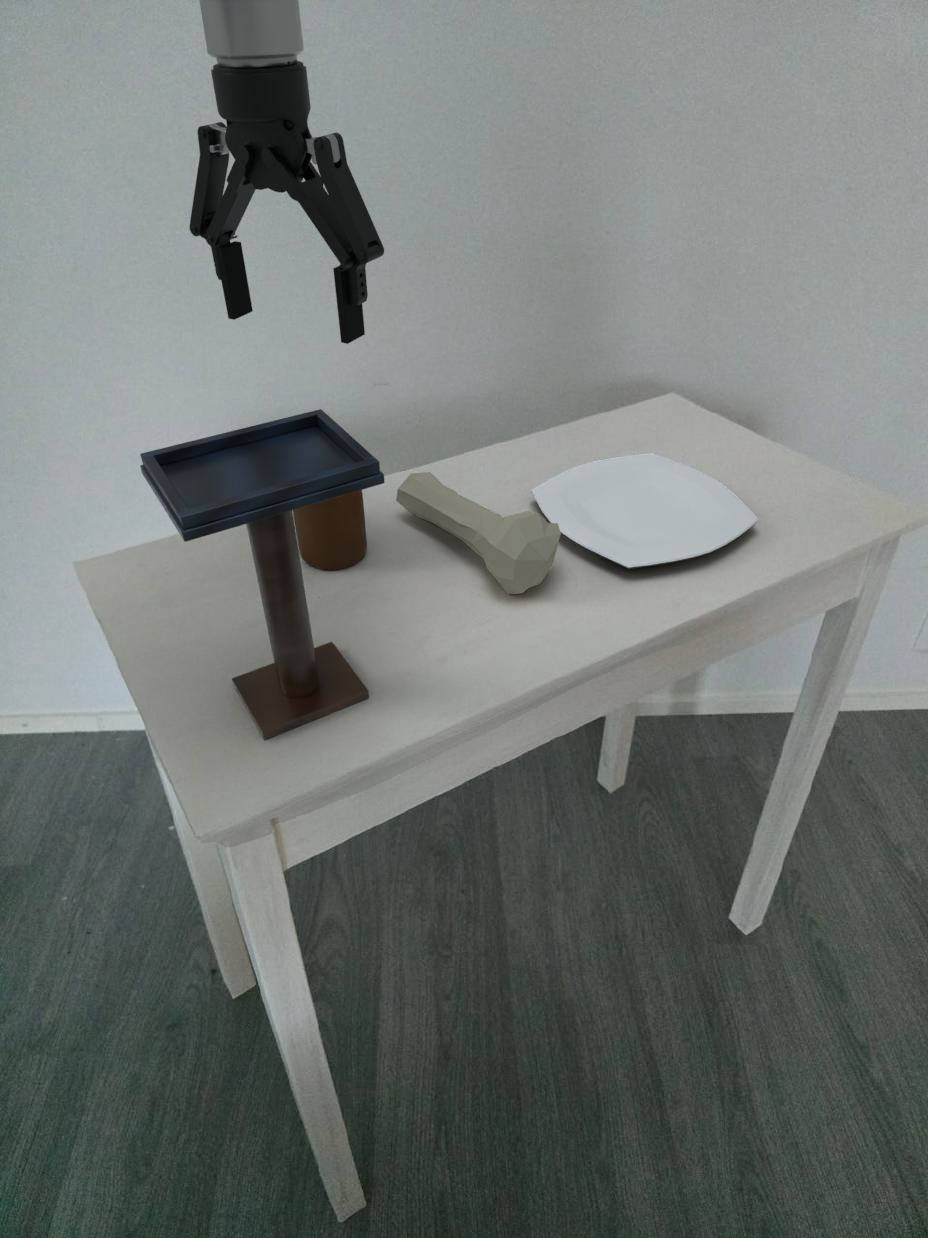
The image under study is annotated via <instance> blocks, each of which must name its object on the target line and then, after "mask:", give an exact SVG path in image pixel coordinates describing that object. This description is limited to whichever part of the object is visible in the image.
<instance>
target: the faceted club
mask: <svg viewBox="0 0 928 1238" xmlns="http://www.w3.org/2000/svg"><path fill="white" fill-rule="evenodd" d="M396 502H397V503H398V504H399V505H401V506H402V508H403V509H405V510H407V511H408V512H410V513H411V514H412V515H414V516H415V517H417V518H420V519H422V520H425V521H426V522H429V523H430V524H431V523H432V524H434V525H436V526H437V527H439V528H440V529H442V530H444V531H446V532H448V533H449V534H451V535H452V536H454V537H456V538H458V539H459V540H460V541H462V542H463V543H464V544H465V545H466V546H468V547H469V548H470V549H471V550H473V552H475V553H476V554H477V555H478V556H479V557H481V559H483V560H484V562H485V565H486V568H487V570H488V572H489V573H490V574H491V575H492V576H493V578H495V580H496V581H497V582H498V584H499V586H500V587H501V588H502V589H503V590H504V592H505V593H506V594H507V595H517V594H523V593H524V592H526V591H527V590H528V589H530V588H532V587H535V586H537V585H540V584H541V583H542V581H543V580H544V579H545V577H546V576H547V574H548V573H549V572H550V570H551V569H552V567H553V564H554V561H555V558H556V554H557V549H558V546H559V542H560V539H561V535H562V533H561V531H560V529H559V526H558V523H550V522H549V521H547V520H546V519H545V518H544V517H543V516H542V515H541V513H539V512H535V511H523V512H518V513H514V514H510V515H505V516H502V515H500V514H498V513H496V512H494V511H492V510H491V509H488V508H486V507H485V506H483V505H481V504H479V503H476V502H475V501H473V500H471V499H469V498H467V497H465V496H463V495H461V494H459V493H458V492H457V491H456V490H454V489H451V488H450V487H448V486H445V485H444V484H443V483H442V482H441V481H440V480H439V479H438V477H436V476H435V475H434V474H433V473H432V472H431V471H426V472H425V471H424V472H414V473H410V474H409V475H408V476H407V477H406V479H404V481H403V482H402V483H401V484H400V486H399V487H398V488H397V490H396Z"/></svg>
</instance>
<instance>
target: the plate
mask: <svg viewBox="0 0 928 1238" xmlns="http://www.w3.org/2000/svg"><path fill="white" fill-rule="evenodd" d="M530 493H531V494H532V496H533V498H534V500H535V502H536V504H537V505H538V507H539V509H540V510H541V512H542V514H543V515H544V516H545V517H546V519H547V520H548V523H558V526H559V529H560V531H561V535H563V536H564V537H566V538H567V539H569V541H571V542H573V543H575V544H577V545H578V546H579V547H582V548H584V549H585V550H587V551H588V552H590V553H593V554H594V555H597V556H599V557H602V559H603V558H604V559H605V560H608V561H610V562H612V563H614V564H617V565H619V566H621V567H623V568H626V569H628V570H630V569H638V568H647V567H653V566H654V567H655V566H659V565H666V564H672V563H676V562H677V563H678V562H683V561H686V560H692V559H695V558H698V557H702V556H706V555H709V554H711V553H713V552H715V551H717V550H719V549H722V548H724V547H726V546H727V545H729V544H731V542H733V541H735V540H736V539H738V538H739V537H740V536H742V535H743V534H745V533H746V532H747V531H749V530H750V529H751V528H752V527H754V526H755V524H757V523H758V522H759V521H760V519H759V517H757V515H755V513H754V512H753V511H752V510H751V509H750V508H749V507H748V506H747V504H746V503H744V501H743V500H741V499H740V497H739V496H738V495H737V494H735V493H734V492H733V491H732V490H730V489H729V488H728V487H727V486H725V484H723V483H721V482H720V481H718V480H717V479H716V478H714V477H712V476H710V475H708V474H706V473H705V472H702V471H701V470H698V469H696V468H693V467H691V466H689V465H686V464H684V463H681V462H678V461H676V460H673V459H671V458H667V457H666V456H662V455H659V454H656V453H654V452H649V453H648V452H647V453H640V454H629V455H622V456H616V457H610V458H604V459H598V460H594V461H589V462H585V463H582V464H579V465H577V466H574V467H571V468H569V469H567V470H565V471H563V472H561V473H558V474H557V475H554V476H552V477H551V478H549V479H548V480H545V481H543V482H542V483H540V484H539V485H537V486H535V487H533V488H532V489H531V490H530Z"/></svg>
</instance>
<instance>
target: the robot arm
mask: <svg viewBox="0 0 928 1238" xmlns="http://www.w3.org/2000/svg"><path fill="white" fill-rule="evenodd" d="M199 7H200V12H201V17H202V18H201V19H202V25H203V32H204V39H205V45H206V51H207V54H208V55H209V56H210V57H212V58H215V59H216V63H215V64H214V65H213V66H212V69H211V70H210V72H211V79H212V85H213V91H214V95H215V102H216V108H217V113H218V114H219V116H220V117H221V118H222V119H223V120H224V121H225V122H226V124H225V123H224V122H222V121H217V122H214V123H209V124H204V125H200V126H198V128H197V140H198V141H197V142H198V148H199V159H198V166H197V173H196V180H195V186H194V193H193V199H192V206H191V213H190V221H189V231H190V234H191V235H192V236H193V237H201V238H202V239H204V240H205V241H206V243H207V245H209V246H210V249H211V255H212V260H213V264H214V270H215V275H216V277H217V279H218V281H220V282H221V287H222V292H223V296H224V302H225V308H226V314H227V318H228V319H229V320H233V321H235V320H237V319H239V318H241V317H244V316H246V315H249V314H250V313H252V312H254V311H253V305H252V304H253V303H252V299H251V294H250V286H249V281H248V275H247V269H246V264H245V258H244V252H243V246H242V241H237V240H235V241H232V240H234V239H237V238H238V237H239V236H238V235H236V232H237V230H238V228H239V226H240V223H241V221H242V219H243V218H244V215H245V214H246V211H247V209H248V206H249V205H250V203H251V201H252V199H253V196H254V194H255V192H256V190H258V191H262V190H266V189H269V190H270V191H273V192H275V193H281V194H282V193H287V195H288V196H289V197H290V198H291V200H293V201H296V202H297V203H298V204H299V205H300V206H301V208H302V210H303V211H304V212H305V214H306V216H307V217H308V219H309V220H310V221H311V223H312V224H313V226H314V227H315V229H316V230H317V231H318V233H319V235H320V236H321V237H322V239H323V240H324V242H325V243H326V245H327V247H328V248H329V249H330V251H331V252H332V253H333V255H334V257H335V258H336V259H337V261H338V262H339V265H337V266H335V267H333V279H334V288H335V297H336V307H337V317H338V325H339V334H340V343H342V344H347V345H349V344H350V343H352V342H354V341H356V340H358V339H359V338H361V337H363V336H364V335H366V331H365V320H364V308H363V304H364V303H366V302H367V300H368V296H369V295H368V294H369V293H368V285H367V283H368V282H367V270H366V266H367V264H368V263H370V262H372V261H375V260H376V259H379V258H381V257H383V256H384V255H385V247H384V245H383V243H382V240H381V238H380V235H379V232H378V231H377V229H376V226H375V224H374V222H373V219H372V217H371V215H370V213H369V210H368V207H367V206H366V203H365V201H364V199H363V196H362V194H361V192H360V189H359V187H358V185H357V183H356V181H355V178H354V175H353V173H352V171H351V169H350V166H349V165H348V160H347V155H346V149H345V142H344V137H343V136H342V134H340V132H333V133H328V134H324V135H321V136H313V135H312V134H311V131H310V128H309V125H308V121H309V115H310V112H311V98H310V89H309V79H308V72H307V71H308V70H307V66H306V65H304V63H303V61H300V60H298V56H299V55H300V54H302V53H303V52H304V51H305V48H304V47H305V46H304V39H303V38H304V37H303V30H302V29H303V28H302V21H301V11H300V1H299V0H199ZM230 154H231V156H232V157H233V159H234V161H233V164H232V166H231V169H230V170H229V172H228V167H229V163H230ZM314 165H316V167H317V169H316V167H315V166H314ZM227 173H228V175H227ZM303 180H304V181H303ZM226 182H227V185H226ZM225 185H226V188H225Z"/></svg>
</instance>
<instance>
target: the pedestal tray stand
mask: <svg viewBox="0 0 928 1238" xmlns="http://www.w3.org/2000/svg"><path fill="white" fill-rule="evenodd" d="M140 459H141V463H142V464H141V465H140V471H141V474H142V476H143V477H144V479H145V481H146V482H147V484H148V485H149V487H150V489H151V490H152V492H153V494H154V495H155V497H156V498H157V500H158V501H159V503H160V505H161V506H162V508H163V509H164V512H165V513H166V515H167V517H168V518H169V519H170V521H171V522H172V524H173V526H174V527H175V529H176V530H177V532H178V533H179V535H180V537H181V538H182V540H183V541H184V542H186V543H187V542H190V541H193V540H196V539H199V538H203V537H207V536H209V535H213V534H217V533H220V532H223V531H227V530H230V529H235V528H237V527H240V526H241V527H242V526H243V525H246V529H247V534H248V539H249V544H250V545H249V546H250V549H251V554H252V559H253V565H254V570H255V574H256V579H257V584H258V588H259V595H260V597H261V603H262V609H263V614H264V619H265V624H266V628H267V633H268V634H267V635H268V639H269V645H270V648H271V653H272V658H273V662H272V663H270V664H267V665H265V666H262V667H258V668H256V669H254V670H251V671H248V672H246V673H243V674H240V675H238V676H234V677H232V678H231V681H232V685H233V688H234V690H235V692H236V693H237V695H238V696H239V699H240V700H241V702H242V704H243V705H244V707H245V709H246V710H247V712H248V714H249V716H250V718H251V720H252V721H253V723H254V725H255V726H256V728H257V730H258V732H259V733H260V736H261V737H262V739H263V741H266V740H269V739H271V738H273V737H276V736H279V735H281V734H283V733H286V732H288V731H291V730H294V729H296V728H298V727H301V726H303V725H306V724H308V723H310V722H313V721H316V720H318V719H321V718H323V717H325V716H328V715H331V714H332V713H336V712H338V711H340V710H342V709H345V708H347V707H351V706H352V705H354V704H357V703H360V702H362V701H365V700H367V699H369V698H370V693H369V689H368V688H367V687H366V685H365V684H364V683H363V681H362V680H361V678H360V677H359V676H358V674H357V672H355V670H354V669H353V668H352V666H351V665H350V664H349V662H348V661H347V659H345V657H344V655H343V654H342V653H341V652H340V651H339V649H338V648H337V646H336V645H335V644H334V642H333V641H330V642H327V643H324V644H321V645H318V646H316V647H315V645H314V640H313V634H312V633H313V632H312V627H311V620H310V614H309V613H310V612H309V608H308V601H307V595H306V588H305V583H304V576H303V571H302V564H301V558H300V557H301V556H300V550H299V545H298V539H297V533H296V527H295V522H294V515H293V510H295V509H298V508H302V507H305V506H308V505H312V504H315V503H319V502H322V501H325V500H329V499H332V498H336V497H339V496H342V495H346V494H349V493H353V492H356V491H359V490H362V491H363V490H366V489H369V488H373V487H376V486H379V485H383V484H385V474H384V473H383V472H382V471H381V467H380V461H379V459H378V458H376V457H375V456H374V455H373V454H372V453H370V451H369V450H367V449H366V448H365V447H364V446H363V445H362V444H361V443H359V442H358V441H357V440H356V439H355V438H354V437H353V436H352V435H350V434H349V433H348V432H347V431H346V430H345V429H344V428H343V427H342V426H341V425H340V424H339V423H338V422H336V421H335V420H334V419H333V418H332V417H331V416H329V415H328V413H326V412H325V411H324V409H321V408H319V409H316V410H312V411H308V412H304V413H303V412H302V413H300V414H295V415H292V416H287V417H283V418H279V419H275V420H271V421H267V422H263V423H259V424H255V425H250V426H247V427H242V428H237V429H235V430H230V431H226V432H222V433H218V434H214V435H210V436H206V437H201V438H198V439H195V440H190V441H186V442H182V443H178V444H174V445H170V446H169V445H168V446H166V447H161V448H157V449H154V450H150V451H147V452H142V453H140Z"/></svg>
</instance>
